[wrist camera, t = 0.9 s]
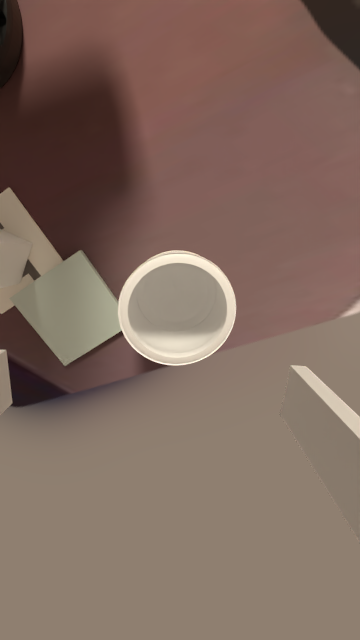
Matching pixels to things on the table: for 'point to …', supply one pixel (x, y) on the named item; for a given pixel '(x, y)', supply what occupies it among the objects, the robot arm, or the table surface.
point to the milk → (12, 258)
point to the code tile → (17, 221)
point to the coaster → (70, 308)
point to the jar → (176, 308)
